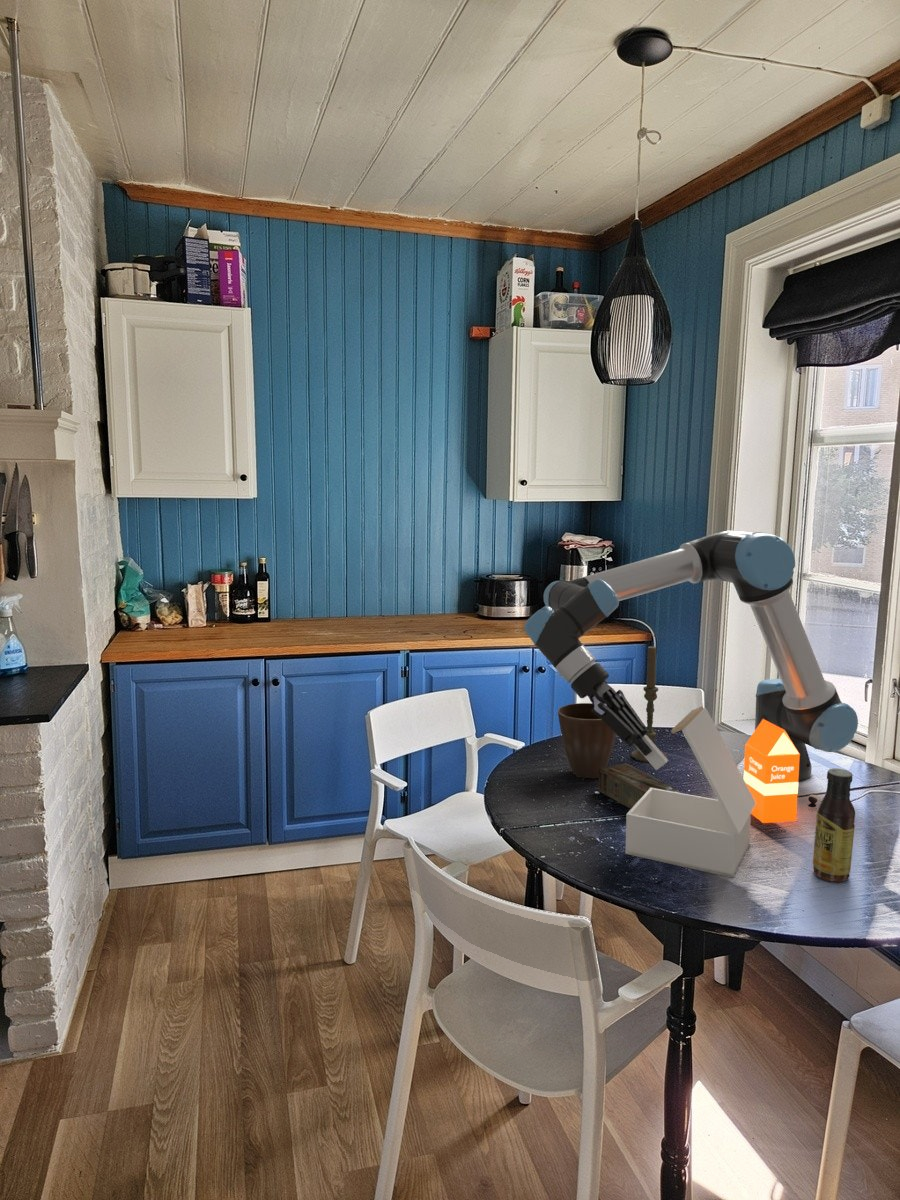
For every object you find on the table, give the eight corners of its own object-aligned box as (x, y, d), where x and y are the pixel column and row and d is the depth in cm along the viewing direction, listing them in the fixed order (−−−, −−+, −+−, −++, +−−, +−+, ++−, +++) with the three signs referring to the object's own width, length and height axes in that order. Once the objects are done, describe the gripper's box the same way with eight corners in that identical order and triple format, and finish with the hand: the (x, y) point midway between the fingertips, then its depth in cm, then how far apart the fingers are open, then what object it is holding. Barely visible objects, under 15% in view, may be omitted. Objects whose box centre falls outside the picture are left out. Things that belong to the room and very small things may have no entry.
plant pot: (578, 788, 191) (579, 722, 189) (545, 768, 205) (546, 706, 203) (630, 779, 197) (632, 715, 195) (596, 760, 211) (597, 700, 209)
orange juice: (762, 823, 171) (767, 731, 168) (741, 807, 180) (745, 719, 177) (797, 820, 172) (802, 729, 170) (774, 804, 181) (778, 717, 178)
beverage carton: (650, 822, 172) (651, 792, 171) (596, 792, 190) (597, 765, 189) (679, 815, 176) (680, 786, 175) (624, 786, 193) (624, 760, 192)
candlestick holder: (670, 762, 209) (674, 647, 205) (635, 762, 209) (638, 647, 205) (662, 751, 218) (665, 641, 214) (627, 751, 218) (630, 641, 214)
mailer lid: (670, 731, 150) (683, 726, 148) (692, 710, 164) (704, 704, 162) (725, 838, 147) (739, 834, 145) (743, 807, 161) (756, 803, 160)
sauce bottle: (805, 868, 151) (811, 765, 148) (838, 867, 151) (844, 764, 148) (824, 885, 144) (831, 778, 141) (858, 884, 145) (865, 776, 142)
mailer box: (625, 853, 157) (626, 814, 156) (649, 824, 171) (650, 787, 170) (733, 877, 147) (734, 835, 146) (749, 844, 161) (751, 805, 160)
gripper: (582, 677, 173) (657, 766, 167) (558, 691, 162) (638, 786, 156) (606, 655, 170) (684, 745, 163) (584, 667, 158) (667, 764, 152)
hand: (662, 765), depth 160 cm, fingers closed
